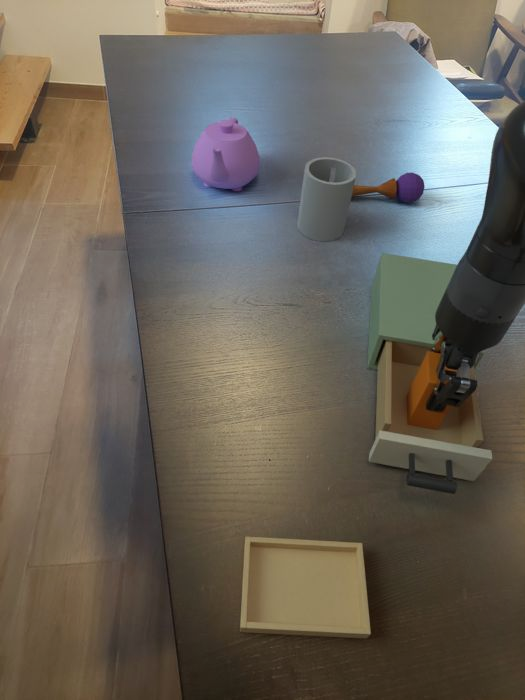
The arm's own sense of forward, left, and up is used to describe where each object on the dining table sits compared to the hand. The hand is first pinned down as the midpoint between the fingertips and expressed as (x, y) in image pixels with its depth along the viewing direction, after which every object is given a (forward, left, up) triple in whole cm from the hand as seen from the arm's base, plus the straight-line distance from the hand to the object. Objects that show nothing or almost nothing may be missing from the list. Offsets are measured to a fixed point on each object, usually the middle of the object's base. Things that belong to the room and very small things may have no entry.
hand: (432, 390), depth 66 cm
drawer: (-1, +2, -6) cm, 6 cm away
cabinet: (+6, -16, -7) cm, 18 cm away
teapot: (+55, -36, -7) cm, 66 cm away
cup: (+31, -33, -7) cm, 46 cm away
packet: (0, 0, -5) cm, 5 cm away
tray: (+4, +28, -7) cm, 29 cm away
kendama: (+26, -48, -7) cm, 55 cm away
